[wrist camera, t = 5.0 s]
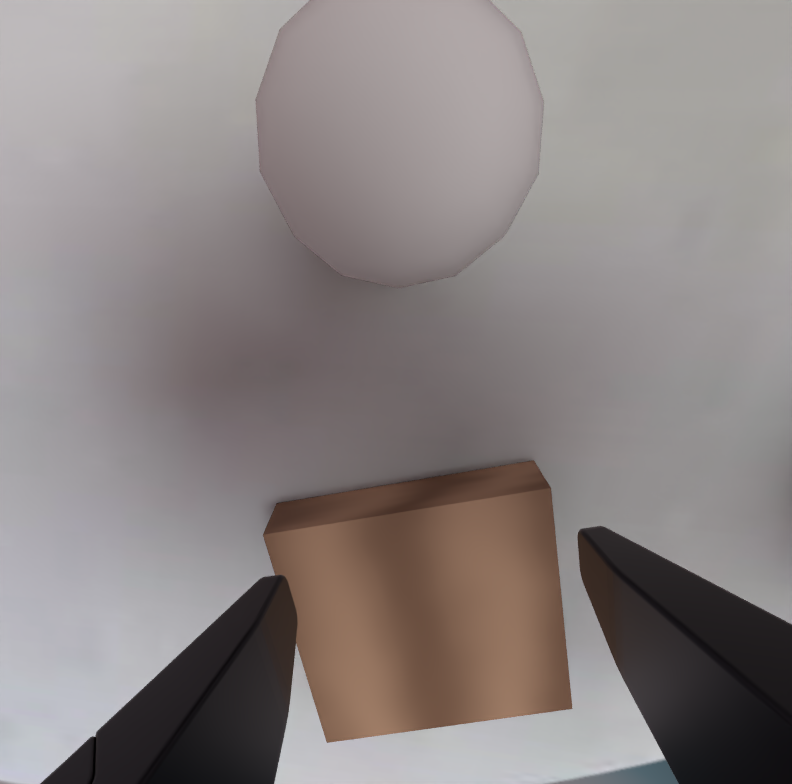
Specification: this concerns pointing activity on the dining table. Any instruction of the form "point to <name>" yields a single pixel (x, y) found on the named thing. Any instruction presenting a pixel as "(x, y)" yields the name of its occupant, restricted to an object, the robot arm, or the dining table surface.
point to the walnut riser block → (426, 601)
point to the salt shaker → (399, 133)
